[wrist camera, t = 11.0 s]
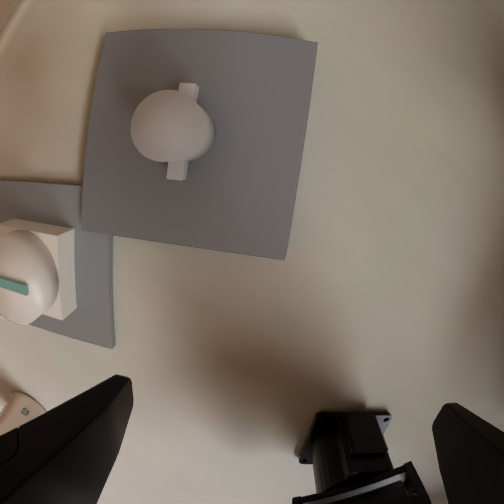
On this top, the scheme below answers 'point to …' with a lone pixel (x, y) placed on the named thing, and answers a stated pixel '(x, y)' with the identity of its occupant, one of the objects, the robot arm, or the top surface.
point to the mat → (85, 256)
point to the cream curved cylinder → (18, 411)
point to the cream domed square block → (36, 271)
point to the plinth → (238, 160)
